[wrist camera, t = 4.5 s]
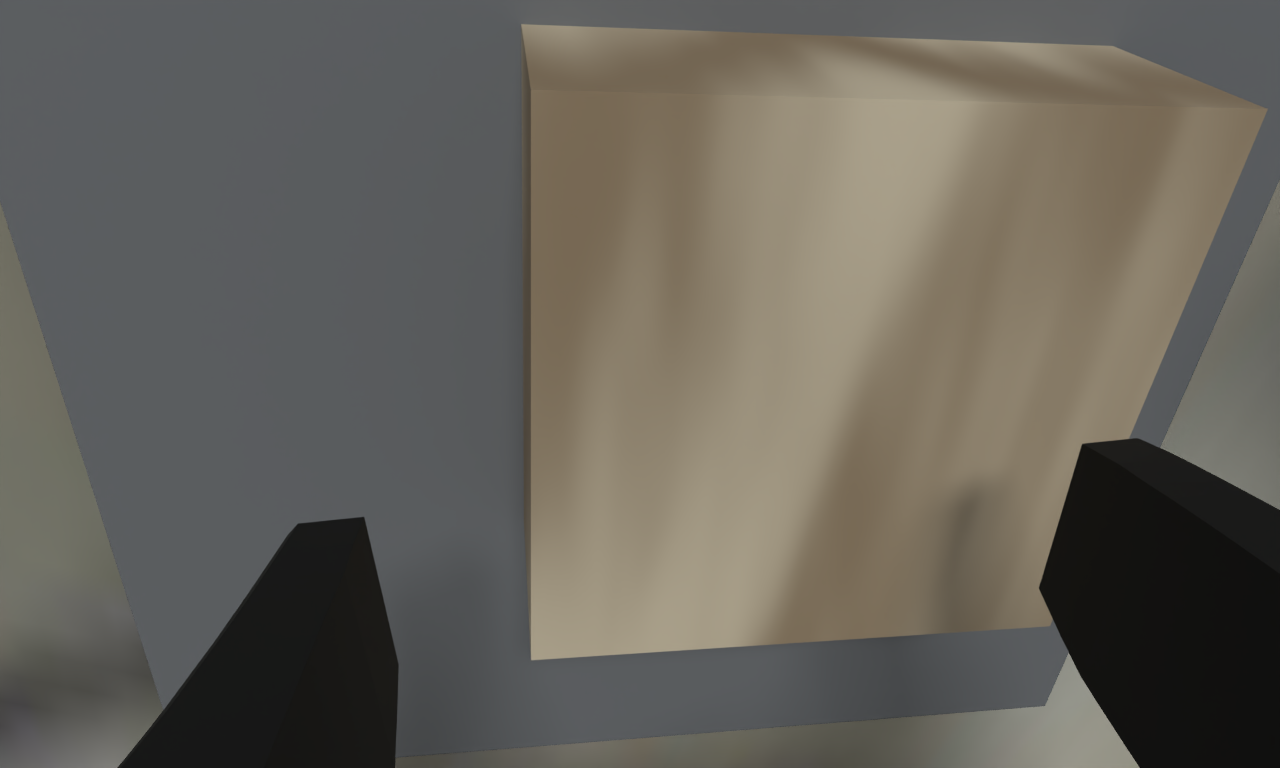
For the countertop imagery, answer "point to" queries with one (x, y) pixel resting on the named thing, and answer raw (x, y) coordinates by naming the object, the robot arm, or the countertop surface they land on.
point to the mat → (432, 327)
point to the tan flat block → (836, 321)
